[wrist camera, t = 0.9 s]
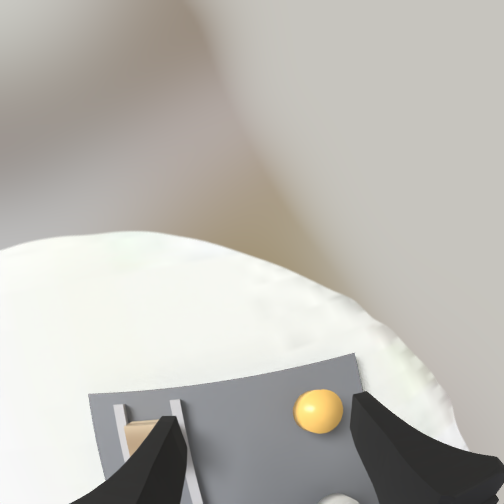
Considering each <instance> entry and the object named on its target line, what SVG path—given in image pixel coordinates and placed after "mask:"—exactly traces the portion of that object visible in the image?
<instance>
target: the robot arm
mask: <svg viewBox="0 0 504 504" xmlns="http://www.w3.org/2000/svg"><path fill="white" fill-rule="evenodd" d="M350 431H351V434H352V438H353V441H354V444H355V447H356V450H357V452H358V454H359V456H360V458H361V461H362V463H363V465H364V467H365V469H366V471H367V473H368V476H369V478H370V480H371V482H372V484H373V487H374V489H375V492H376V495H377V498H378V501H379V504H496V503H497V502H498V501H499V499H498V497H497V496H496V493H497V491H498V490H499V489H500V488H501V486H502V485H503V483H504V465H503V463H502V462H501V461H500V460H499V459H498V458H497V457H494V456H488V455H481V454H476V453H472V452H468V451H464V450H461V449H458V448H455V447H452V446H449V445H447V444H444V443H442V442H439V441H437V440H435V439H433V438H431V437H429V436H427V435H425V434H423V433H421V432H420V431H418V430H416V429H415V428H413V427H412V426H410V425H409V424H407V423H406V422H404V421H403V420H402V419H400V418H399V417H397V416H396V415H395V414H393V413H392V412H391V411H390V410H388V409H387V408H386V407H385V406H384V405H382V404H381V403H380V402H379V401H378V400H376V399H375V398H374V397H373V396H372V395H371V394H369V393H368V392H367V391H366V392H361V393H357V394H353V396H352V408H351V419H350ZM186 469H187V445H186V442H185V439H184V437H183V434H182V431H181V428H180V425H179V423H178V420H177V417H176V416H162V417H161V418H160V419H159V420H158V422H157V423H156V425H155V426H154V427H153V429H152V430H151V432H150V433H149V434H148V436H147V437H146V438H145V440H144V441H143V442H142V443H141V445H140V446H139V447H138V449H137V450H136V451H135V452H134V453H133V454H132V456H131V457H130V458H129V459H128V460H127V461H126V462H125V463H124V464H123V465H122V466H121V467H120V468H119V469H118V470H117V471H116V472H115V473H114V474H113V475H112V476H111V477H110V478H109V479H107V480H106V481H105V482H104V483H102V484H101V485H99V486H98V487H97V488H95V489H94V490H93V491H91V492H90V493H88V494H86V495H85V496H83V497H81V498H79V499H78V500H76V501H74V502H72V503H70V504H180V502H181V497H182V491H183V486H184V480H185V474H186Z"/></svg>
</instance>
